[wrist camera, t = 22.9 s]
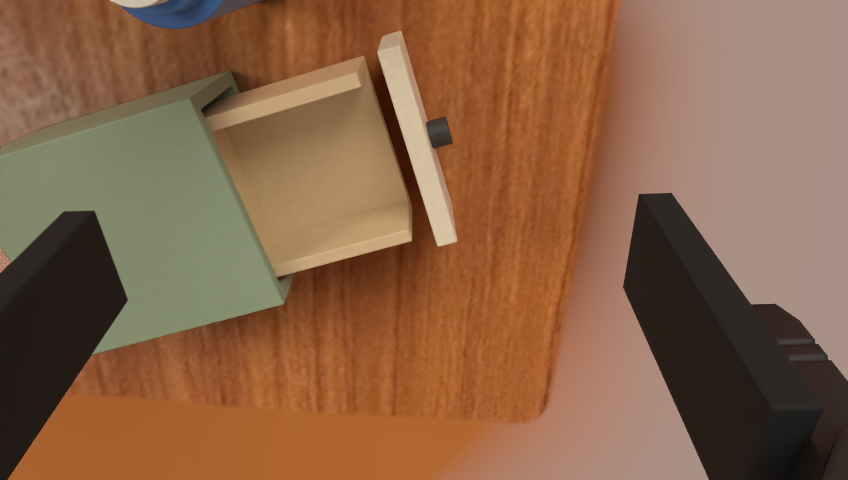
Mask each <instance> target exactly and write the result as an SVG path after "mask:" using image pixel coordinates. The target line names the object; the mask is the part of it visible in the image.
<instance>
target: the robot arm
mask: <svg viewBox="0 0 848 480" xmlns="http://www.w3.org/2000/svg"><path fill="white" fill-rule="evenodd" d="M623 288H624V290H625V292H626V295H627V297H628V299H629V301H630V303H631V306H632V308H633V311H634V313H635V315H636V317H637V319H638V322H639V324H640V326H641V328H642V331H643V333H644V335H645V337H646V340H647V342H648V344H649V346H650V349H651V351H652V353H653V355H654V357H655V360H656V362H657V364H658V366H659V369H660V371H661V373H662V375H663V378H664V380H665V382H666V384H667V387H668V389H669V391H670V393H671V395H672V398H673V400H674V402H675V405H676V406H677V409H678V411H679V413H680V416H681V418H682V420H683V422H684V425H685V427H686V429H687V431H688V433H689V436H690V438H691V440H692V443H693V445H694V447H695V449H696V451H697V454H698V456H699V458H700V461H701V463H702V465H703V467H704V469H705V472H706V474H707V476H708V478H709V480H848V381H847V380H846V379H845V378H844V376H843V375H842V374H841V372H840V371H839V370H838V368H837V367H836V366H835V365H834V363H833V362H832V361H831V360H828V356H827V355H826V353H825V352H824V351H823V350H822V348H821V347H820V346H819V344H815V339H814V338H813V337H812V336H811V334H810V333H809V332H808V331H807V329H806V328H805V327H804V326H803V324H802V323H801V322H800V321H799V320H798V319H797V318H795V317H794V316H792V315H791V314H789V313H788V312H786V311H785V310H783V309H782V308H781V307H779V306H778V305H776V304H758V305H756V304H755V305H751V304H750V303H749V301H748V300H747V298H746V297H745V296H744V294H743V293H742V291H741V290H740V289H739V287H738V286H737V284H736V283H735V282H734V280H733V279H732V277H731V276H730V275H729V273H728V272H727V270H726V269H725V267H724V266H723V265H722V263H721V262H720V260H719V259H718V258H717V256H716V255H715V254H714V252H713V251H712V249H711V248H710V246H709V245H708V244H707V242H706V241H705V240H704V238H703V237H702V235H701V234H700V232H699V231H698V230H697V229H696V227H695V226H694V224H693V223H692V221H691V220H690V218H689V217H688V216H687V214H686V213H685V212H684V210H683V209H682V207H681V206H680V205H679V203H678V202H677V200H676V199H675V197H674V196H673V195H672V193H659V194H639V197H638V203H637V208H636V215H635V220H634V226H633V232H632V238H631V244H630V250H629V256H628V262H627V268H626V274H625V280H624V286H623ZM127 301H128V298H127V296H126V293H125V290H124V288H123V285H122V282H121V280H120V277H119V274H118V272H117V269H116V266H115V264H114V261H113V258H112V256H111V253H110V250H109V248H108V245H107V242H106V240H105V237H104V234H103V232H102V229H101V226H100V224H99V221H98V218H97V216H96V213H95V210H94V211H64V212H63V213H61V214H60V215H59V216H58V217H57V218H56V219H55V220H54V221H53V222H52V223H51V224H50V225H49V226H48V227H47V228H46V229H45V230H44V231H43V232H42V233H41V234H40V235H39V236H38V237H37V238H36V239H35V240H34V241H33V242H32V243H31V244H30V245H29V246H28V247H27V248H26V249H25V250H24V251H23V252H22V253H21V254H20V255H19V256H18V257H17V258H16V259H15V260H13V261H12V262H11V263H10V264H9V265H8V266H7V267H6V268H5V269H4V270H3V271H2V272H1V273H0V480H7V479H8V478H9V476H10V475H11V473H12V472H13V471H14V469H15V468H16V466H17V465H18V463H19V462H20V460H21V459H22V457H23V456H24V454H25V453H26V451H27V450H28V448H29V447H30V445H31V444H32V442H33V440H34V439H35V438H36V436H37V435H38V433H39V432H40V430H41V429H42V428H43V426H44V425H45V423H46V422H47V420H48V418H49V417H50V416H51V414H52V413H53V411H54V410H55V408H56V407H57V405H58V404H59V402H60V401H61V399H62V398H63V396H64V395H65V393H66V392H67V390H68V389H69V387H70V386H71V384H72V383H73V382H74V380H75V379H76V377H77V376H78V374H79V373H80V371H81V370H82V368H83V367H84V365H85V364H86V362H87V361H88V359H89V358H90V356H91V355H92V353H93V352H94V350H95V349H96V347H97V346H98V344H99V343H100V341H101V340H102V338H103V337H104V335H105V334H106V333H107V331H108V330H109V328H110V327H111V325H112V324H113V322H114V321H115V319H116V318H117V316H118V315H119V313H120V312H121V310H122V309H123V307H124V306H125V304H126V303H127Z"/></svg>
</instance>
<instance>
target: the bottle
mask: <svg viewBox="0 0 848 480" xmlns="http://www.w3.org/2000/svg"><path fill="white" fill-rule="evenodd" d="M110 1H111V2H113V3H116V4H118V5H120V6H121V7H122V8H123V9H125V10H126V11H127V12H128V13H129V14H131V15H133V16H134V17H136V18H137V19H139V20H141V21H143V22H145V23H147V24H150V25H153V26H156V27H161V28H167V29H182V28H188V27H191V26H194V25H197V24H200V23H203V22H205V21H208V20H211V19H214V18H216V17H219V16H222V15H225V14H227V13H230V12H233V11H235V10H238V9H241V8H244V7H246V6H249V5H252V4H255V3H257V2H260V1H263V0H110Z"/></svg>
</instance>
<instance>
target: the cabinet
mask: <svg viewBox="0 0 848 480" xmlns="http://www.w3.org/2000/svg"><path fill="white" fill-rule="evenodd" d="M239 93H240V92H239V90H238V87H237V85H236V83H235V80H234V78H233V75H232V73H231V71H226V72H223V73H219V74H216V75H213V76H210V77H206V78H203V79H200V80H197V81H194V82H190V83H187V84H184V85H181V86H177V87H174V88H171V89H168V90H164V91H161V92H158V93H155V94H151V95H148V96H145V97H142V98H139V99H135V100H132V101H129V102H126V103H122V104H119V105H116V106H113V107H109V108H106V109H103V110H100V111H96V112H93V113H90V114H87V115H84V116H80V117H77V118H74V119H71V120H67V121H64V122H61V123H58V124H54V125H51V126H48V127H45V128H41V129H38V130H35V131H32V132H30V133H28V134H26V135H24V136H22V137H20V138H18V139H16V140H13V141H11V142H9V143H7V144H5V145H3V146H1V147H0V246H1V248H2V249H3V251H4V252H5V254H6V255H7V257H8V258H9V260H10V261H11V262H12V261H13V260H15V259H16V258H17V257H18V256H19V255H20V254H21V253H22V252H23V251H24V250H25V249H26V248H27V247H28V246H29V245H30V244H31V243H32V242H33V241H34V240H35V239H36V238H37V237H38V236H39V235H40V234H41V233H42V232H43V231H44V230H45V229H46V228H47V227H48V226H49V225H50V224H51V223H52V222H53V221H54V220H55V219H56V218H57V217H58V216H59V215H60V214H61V213H63V212H64V211H94V210H95V213H96V216H97V218H98V221H99V224H100V226H101V229H102V232H103V234H104V237H105V240H106V242H107V245H108V248H109V250H110V253H111V256H112V258H113V261H114V264H115V266H116V269H117V272H118V274H119V277H120V280H121V282H122V285H123V288H124V290H125V293H126V296H127V298H128V301H127V303H126V304H125V306H124V307H123V309H122V310H121V312H120V313H119V315H118V316H117V318H116V319H115V321H114V322H113V324H112V325H111V327H110V328H109V330H108V331H107V333H106V334H105V335H104V337H103V338H102V340H101V341H100V343H99V344H98V346H97V347H96V349H95V350H94V352H93V353H92V355H94V354H97V353H101V352H105V351H109V350H113V349H116V348H120V347H124V346H128V345H132V344H135V343H139V342H143V341H147V340H151V339H155V338H158V337H162V336H166V335H170V334H174V333H177V332H181V331H185V330H189V329H193V328H196V327H200V326H204V325H208V324H212V323H215V322H219V321H223V320H227V319H231V318H234V317H238V316H242V315H246V314H250V313H253V312H257V311H261V310H265V309H269V308H272V307H276V306H280V305H283V304H284V303H285V300H286V297H287V295H288V292H289V289H290V287H291V284H292V281H293V278H294V275H295V273H296V272H295V273H291V274H287V275H284V276H280V277H277V276H276V274H275V272H274V270H273V268H272V265H271V263H270V261H269V259H268V257H267V254H266V252H265V250H264V248H263V245H262V243H261V241H260V239H259V237H258V234H257V232H256V230H255V228H254V226H253V223H252V221H251V219H250V217H249V215H248V212H247V210H246V208H245V206H244V203H243V201H242V199H241V197H240V195H239V192H238V190H237V188H236V186H235V184H234V181H233V179H232V177H231V175H230V173H229V170H228V168H227V166H226V164H225V161H224V159H223V157H222V155H221V153H220V150H219V148H218V146H217V144H216V142H215V139H214V137H213V135H212V133H211V131H210V128H209V126H208V124H207V122H206V119H205V117H204V115H203V113H202V111H201V109H202V108H203V107H204V106H206V105H207V104H208V103H210V102H213V101H216V100H219V99H223V98H226V97H229V96H232V95H236V94H239Z"/></svg>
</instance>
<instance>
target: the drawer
mask: <svg viewBox="0 0 848 480" xmlns="http://www.w3.org/2000/svg"><path fill="white" fill-rule="evenodd" d="M377 55H378V58H379V61H380V64H381V67H382V71H383V74H384V77H385V80H386V83H387V87H388V90H389V93H390V96H391V100H392V103H393V106H394V109H395V112H396V116H397V119H398V122H399V125H400V128H401V132H402V135H403V138H404V141H405V144H406V148H407V151H408V154H409V157H410V160H411V164H412V167H413V170H414V173H415V176H416V180H417V183H418V186H419V189H420V192H421V196H422V199H423V202H424V205H425V208H426V212H427V215H428V218H429V221H430V224H431V228H432V231H433V234H434V237H435V240H436V244H437V246H438V247H440V246H444V245H447V244H451V243H455V242H457V236H456V229H455V223H454V216H453V210H452V203H451V200H450V196H449V193H448V189H447V186H446V182H445V179H444V176H443V172H442V169H441V165H440V162H439V158H438V155H437V152H436V148H439V147H442V146H446V145H449V144H452V143H453V141H452V137H451V133H450V130H449V126H448V122H447V119H446V117H441V118H438V119H434V120H431V121H427V117H426V114H425V110H424V107H423V103H422V100H421V97H420V93H419V90H418V86H417V83H416V79H415V76H414V73H413V69H412V66H411V62H410V59H409V55H408V52H407V48H406V45H405V42H404V38H403V35H402V32H401V31H397V32H394V33H391V34H388V35H384V36H382V39H381V42H380V45H379V48H378V51H377ZM201 111H202V113H203V115H204V117H205V119H206V122H207V124H208V126H209V128H210V131H211V133H212V135H213V137H214V139H215V142H216V144H217V146H218V148H219V150H220V153H221V155H222V157H223V159H224V161H225V164H226V166H227V168H228V170H229V173H230V175H231V177H232V179H233V181H234V184H235V186H236V188H237V190H238V192H239V195H240V197H241V199H242V201H243V203H244V206H245V208H246V210H247V212H248V215H249V217H250V219H251V221H252V223H253V226H254V228H255V230H256V232H257V234H258V237H259V239H260V241H261V243H262V245H263V248H264V250H265V252H266V254H267V257H268V259H269V261H270V263H271V265H272V268H273V270H274V272H275V274H276V276H277V277H280V276H284V275H287V274H291V273H295V272H299V271H302V270H306V269H310V268H314V267H317V266H321V265H325V264H328V263H332V262H336V261H340V260H343V259H347V258H351V257H355V256H358V255H362V254H366V253H369V252H373V251H377V250H381V249H384V248H388V247H392V246H396V245H399V244H403V243H407V242H410V241H412V204H411V200H410V197H409V194H408V191H407V188H406V185H405V182H404V179H403V176H402V173H401V169H400V166H399V163H398V160H397V157H396V154H395V151H394V148H393V145H392V141H391V138H390V135H389V132H388V129H387V126H386V123H385V120H384V117H383V114H382V110H381V107H380V104H379V101H378V98H377V95H376V92H375V89H374V86H373V82H372V79H371V76H370V73H369V70H368V67H367V64H366V61H365V58H364V56H361V57H357V58H354V59H351V60H347V61H344V62H341V63H338V64H334V65H331V66H328V67H324V68H321V69H318V70H315V71H311V72H308V73H305V74H301V75H298V76H295V77H292V78H288V79H285V80H282V81H278V82H275V83H272V84H269V85H265V86H262V87H259V88H255V89H252V90H249V91H246V92H242V93H239V94H236V95H232V96H229V97H226V98H223V99H219V100H216V101H213V102H210V103H208V104H207V105H206V106H204V107H203V108H202V109H201Z"/></svg>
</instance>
